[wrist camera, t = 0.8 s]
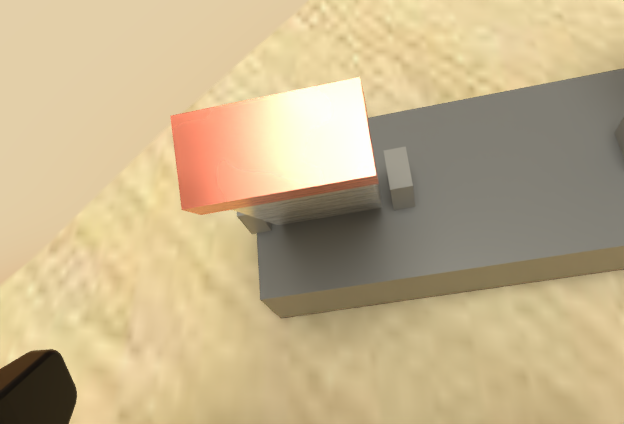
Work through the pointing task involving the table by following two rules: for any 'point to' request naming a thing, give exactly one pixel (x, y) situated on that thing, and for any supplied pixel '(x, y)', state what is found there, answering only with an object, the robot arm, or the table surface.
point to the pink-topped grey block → (279, 155)
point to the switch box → (466, 203)
